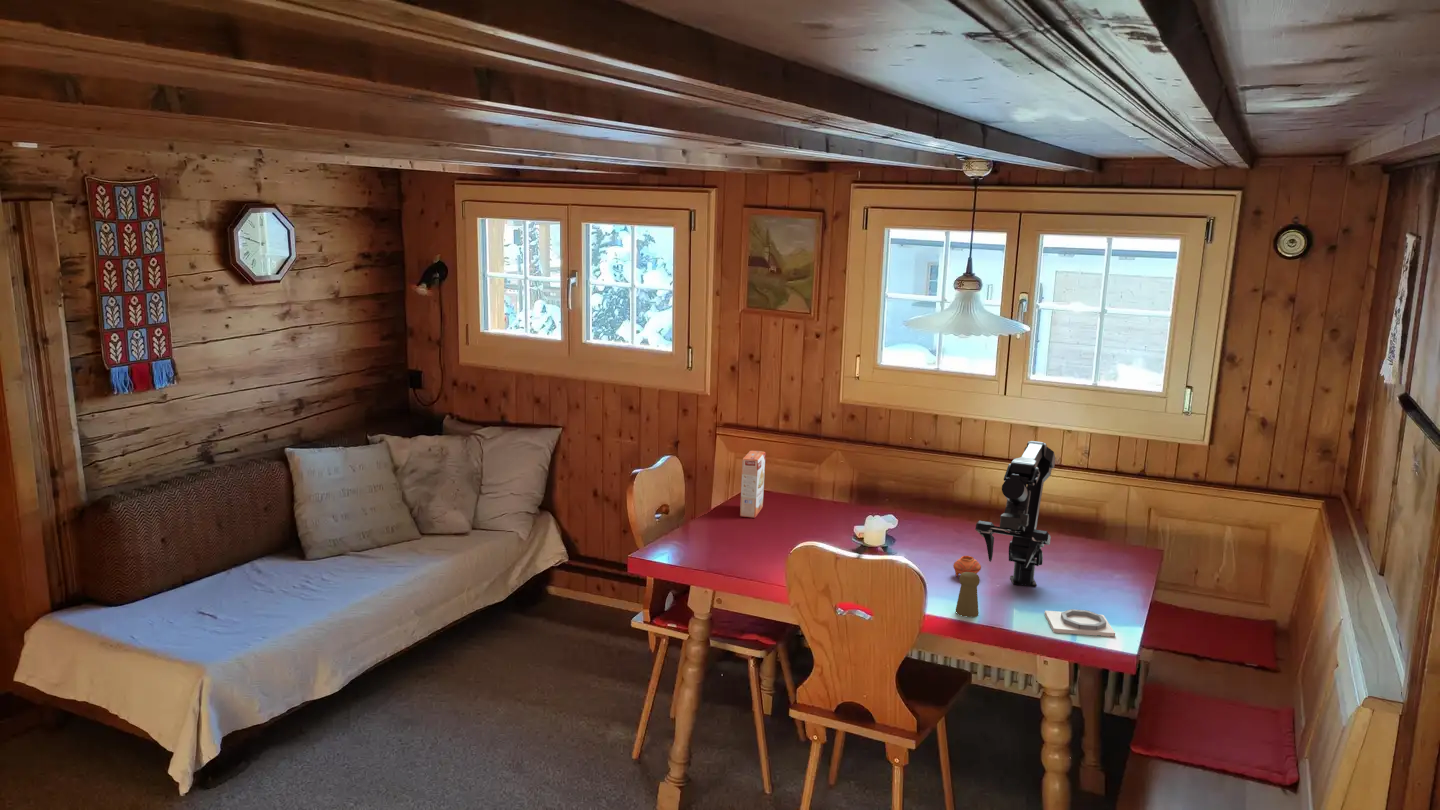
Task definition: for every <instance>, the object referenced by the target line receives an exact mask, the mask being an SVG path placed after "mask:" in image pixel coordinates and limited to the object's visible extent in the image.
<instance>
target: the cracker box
mask: <svg viewBox="0 0 1440 810" xmlns="http://www.w3.org/2000/svg"><path fill="white" fill-rule="evenodd" d="M766 454H767V453H766V451H762V450H749V452H748V453H747V454H746V455H745V456H743V458H742V462H741V463H742V464H741V466H742V467H741V483H740V484H741V485H740V486H741V489H740V490H741V491H740V505H739V506H740V508H739V509H740V511H739V516H740V517H744V518H752V519H753V518H754V519H756V517H757V516H758V515H759V513H760V512H761V510H762V509H763V507H764V490H765V469H766V467H765V466H766Z"/></svg>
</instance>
